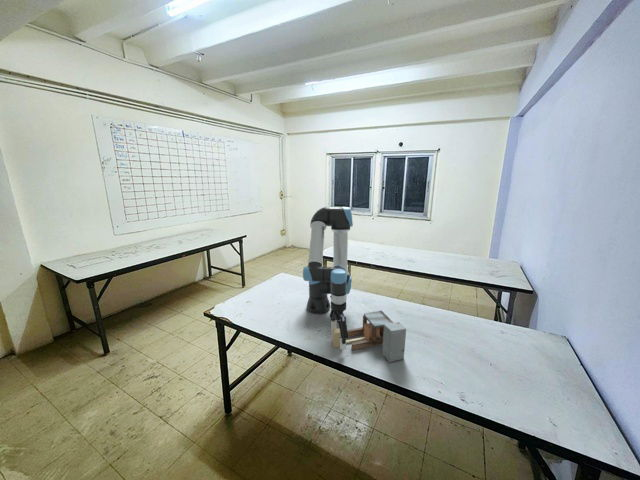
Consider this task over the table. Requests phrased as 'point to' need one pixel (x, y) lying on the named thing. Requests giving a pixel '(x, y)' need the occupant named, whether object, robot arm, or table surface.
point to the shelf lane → (376, 321)
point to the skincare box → (394, 341)
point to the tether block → (367, 336)
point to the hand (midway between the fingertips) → (338, 339)
